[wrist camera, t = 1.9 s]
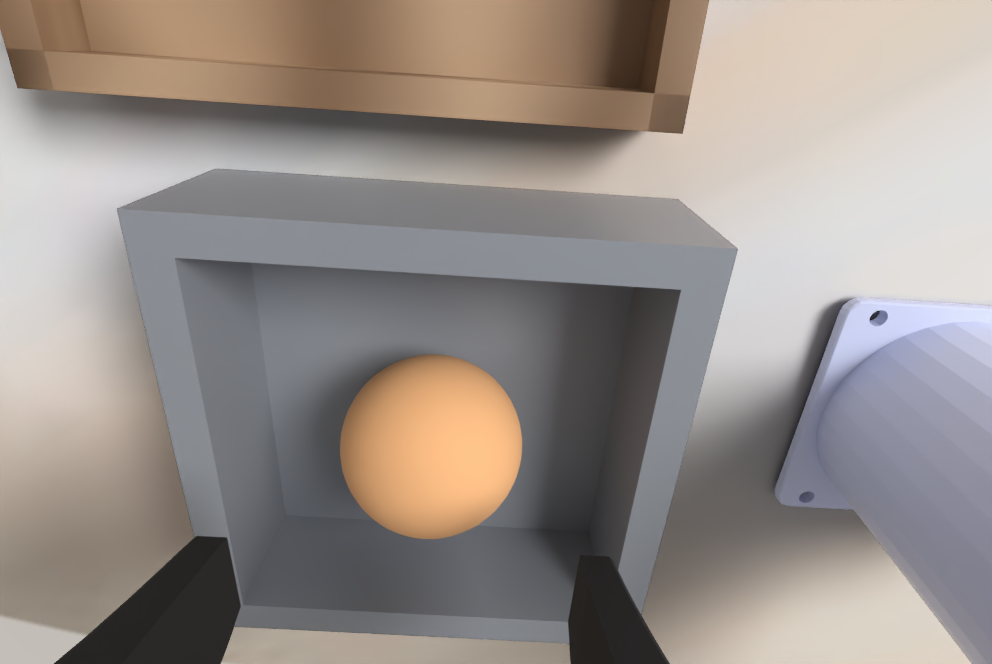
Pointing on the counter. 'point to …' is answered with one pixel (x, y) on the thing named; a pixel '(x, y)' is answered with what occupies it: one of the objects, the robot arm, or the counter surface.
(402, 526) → the ball
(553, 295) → the bin
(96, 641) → the robot arm
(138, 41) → the tray
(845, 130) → the counter surface
